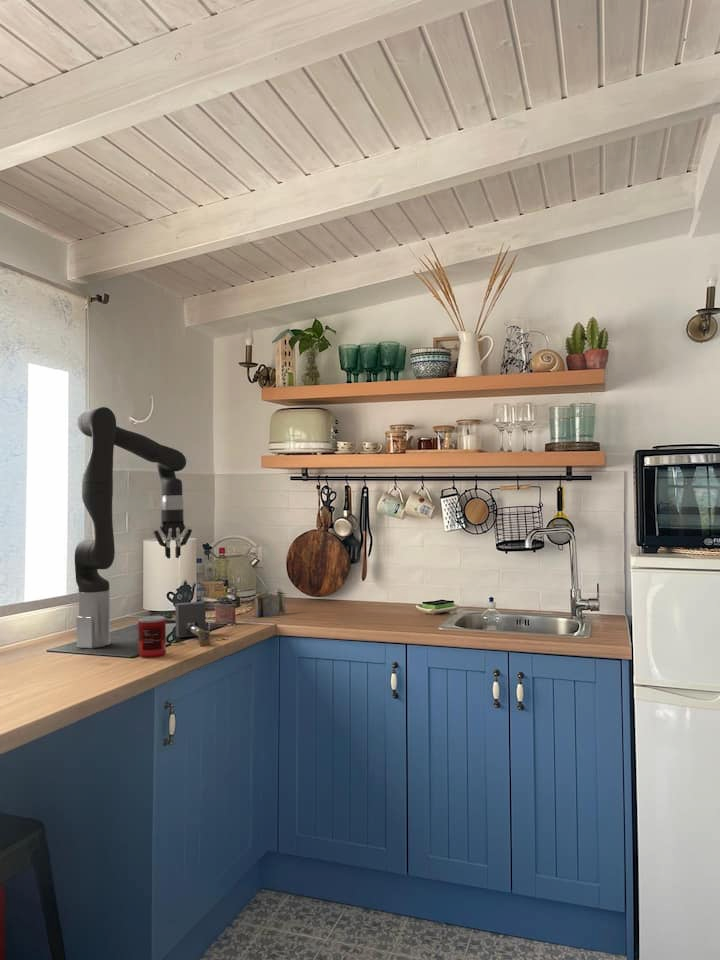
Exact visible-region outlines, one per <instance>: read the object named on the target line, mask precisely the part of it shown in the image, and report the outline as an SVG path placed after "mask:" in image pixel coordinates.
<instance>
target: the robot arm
mask: <svg viewBox="0 0 720 960" xmlns="http://www.w3.org/2000/svg"><path fill="white" fill-rule="evenodd" d="M116 419H117V418H116V415H115V414H114V412H113V411H112V410H111V409H110V408H108V406H107V407H106V406H99V407H93V408H89V409H88V408H87V409H85V410H83V411H82V412H80V414H79V415H78V417H77V422H76V423H77V427H78V428H77V429H79V431H80V432H81V433H82V434H83V435H85V436H86V437H90V438H91V452H90V455H89V459H88V461H87V463H86V466H85V468H84V470H83V471H84V472H83V473H82V474H83V475H82V478H81V483H82V484H81V498H82V502H83V504H84V507H85V509H86V511H87V512H88V514H89V516H90V518H91V520H92V522H93V526H94V539H84V540H82V541H80V542H78V543H77V545H76V548H75V550H74V570H75V571H74V572H75V582H76V585H77V587H78V616H76V647H77V648H81V649H82V648H84V649H96V648H101V647H102V648H103V647H107V646H109V645H111V615H110V614H111V613H110V612H111V611H110V607H111V605H110V582H109V580H108V579H105V578H104V577H102V576H101V575H100V574H99V570H107V569H109V568H110V567H112V565H113V563H114V560H115V551H116V549H115V548H116V547H115V535H114V525H113V497H114V495H113V493H114V489H113V488H114V479H113V478H114V475H113V474H114V470H113V469H114V449H115V446H117V447H119V448H121V449H123V450H125V451H128V452H130V453H132V454H134V455H136V456H137V457H139V458H142V459H143V460H144V461H147V462H150V463H155V464H156V465H157V466H156V467H157V472H158V476H159V479H160V480H159V481H160V482H161V502H160V510H161V511H160V514H161V515H160V516H161V517H160V518H161V519H160V520H161V525H160V527H158V528H157V529H156V530H153V531H152V533H153V535H154V537H155V538H156V540H157V542H158V544H159V546H161V547H164V555H165V557H166V558H167V559H171V541H172V538H174V542H175V546H174V547H175V556H174V557H175V559H179V558H180V556H181V555H182V554H181V548H182V546H185V545H187V543H188V540H189V538H190V536H191V534H192V532H193V530H192V528H188V527H186V525H185V523H184V497H183V483H182V480H181V479H180V478H178V477H177V476H176V472H180V471H183V470H184V469H185V467H186V465H187V458H186V456H185V455H184V454H183V452H181V451H179V450H178V449H175V448H173V447H169V446H167V445H163V444H161V443H158V442H157V441H155V440H153V439H152V438H149V437H148V436H145V435H142V434H140V433H137V432H135V431H131V430H128V429H124V428H121V427H119V426H117V420H116ZM183 532H184V535H183V537H182V540H181V535H182V533H183ZM162 533H163V535H164V540H163V539H162V536H161V535H162ZM106 645H107V646H106Z"/></svg>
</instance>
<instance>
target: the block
mask: <svg viewBox="0 0 720 960" xmlns="http://www.w3.org/2000/svg"><path fill="white" fill-rule="evenodd" d="M174 605H175V606H174V609H175V616H174V617H175V636H176V637H177V638H187V637H189V638H191V637H198V636H197V635H195V634H193V633H192V632H187V623H192V624H193V625H195V626H197V627H198V628H200V629H202V630H204V631H207V628H206V626H207V625H206V623H207V621H206V602H205V601H202V600H201V601H190V602H178V603H175V604H174Z"/></svg>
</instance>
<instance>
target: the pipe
mask: <svg viewBox="0 0 720 960" xmlns="http://www.w3.org/2000/svg"><path fill="white" fill-rule="evenodd" d="M187 632H192V633H193V634H195V635H197V636H196V637H198V646H199V645H200V646H199V647H206V646H205V645H208V646H210V645H211V631H209V630H206V631H204V630H202V629H200V628H198V627H197V626H195V625H194V623H187ZM225 638H226V637H219V638H214V641H215V640H218V641H220V640H219V639H225ZM181 645H185V642H183V641H182V642H176V643H175V642H174V643H173V642H172V643H170V646H172V647H173V646H181Z"/></svg>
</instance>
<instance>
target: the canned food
mask: <svg viewBox="0 0 720 960" xmlns="http://www.w3.org/2000/svg"><path fill="white" fill-rule="evenodd" d="M137 621H138V622H137V623H138V625H137V627H138V628H137V629H138V631H137V632H138V633H137V634H138V655H139V657H140V658H142V659H143V658H144V659H155V658H161V657H163V656H165V655H166V652H167V651H166V650H167V646H166V644H167V643H166V634H167V633H166V617H165V616H163V615H147V616H142V617H139V618H138V620H137Z"/></svg>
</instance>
